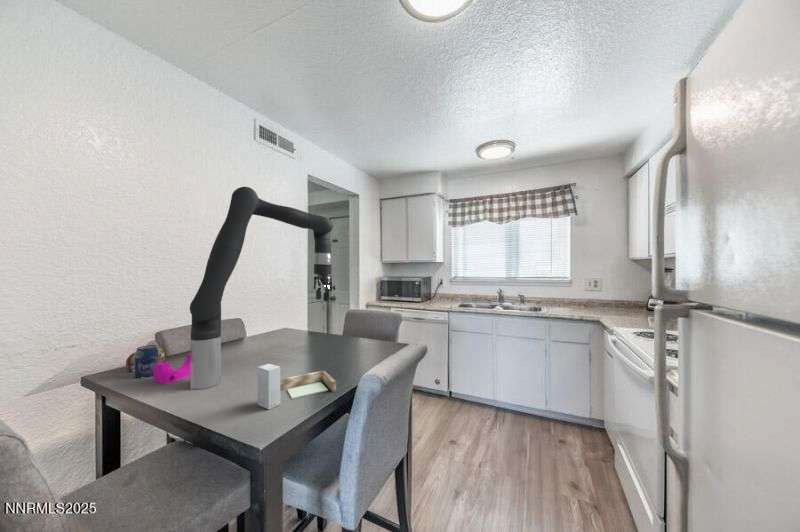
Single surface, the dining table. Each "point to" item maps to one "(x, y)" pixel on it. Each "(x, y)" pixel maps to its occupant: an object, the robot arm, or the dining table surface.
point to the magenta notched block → (171, 371)
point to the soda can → (145, 360)
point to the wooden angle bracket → (308, 380)
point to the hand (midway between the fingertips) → (322, 300)
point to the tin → (131, 359)
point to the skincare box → (268, 386)
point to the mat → (306, 390)
